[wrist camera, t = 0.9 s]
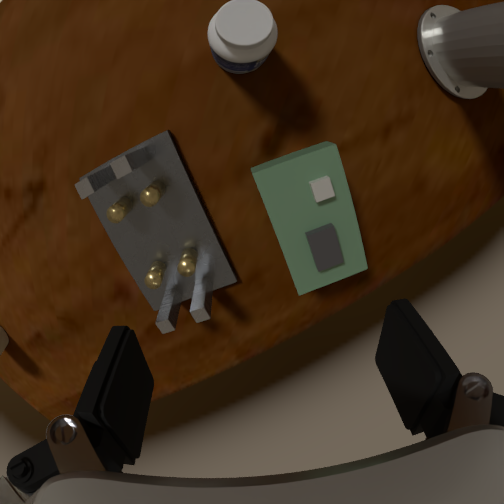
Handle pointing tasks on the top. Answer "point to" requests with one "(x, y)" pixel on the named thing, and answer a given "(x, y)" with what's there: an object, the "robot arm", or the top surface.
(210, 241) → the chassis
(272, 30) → the pill bottle
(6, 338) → the candle
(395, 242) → the top surface
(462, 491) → the robot arm
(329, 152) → the board
